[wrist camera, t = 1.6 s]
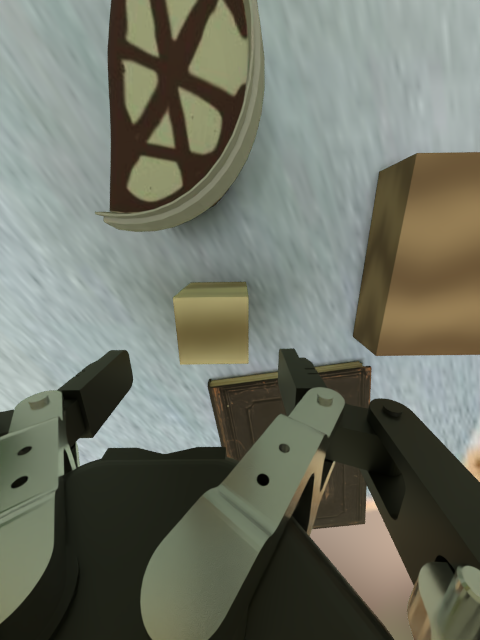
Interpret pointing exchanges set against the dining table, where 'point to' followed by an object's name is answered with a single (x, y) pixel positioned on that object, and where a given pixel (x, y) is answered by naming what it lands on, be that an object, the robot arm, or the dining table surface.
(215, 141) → the half round tub
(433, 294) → the block
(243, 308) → the maple block
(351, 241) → the dining table surface
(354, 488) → the hardcover book
